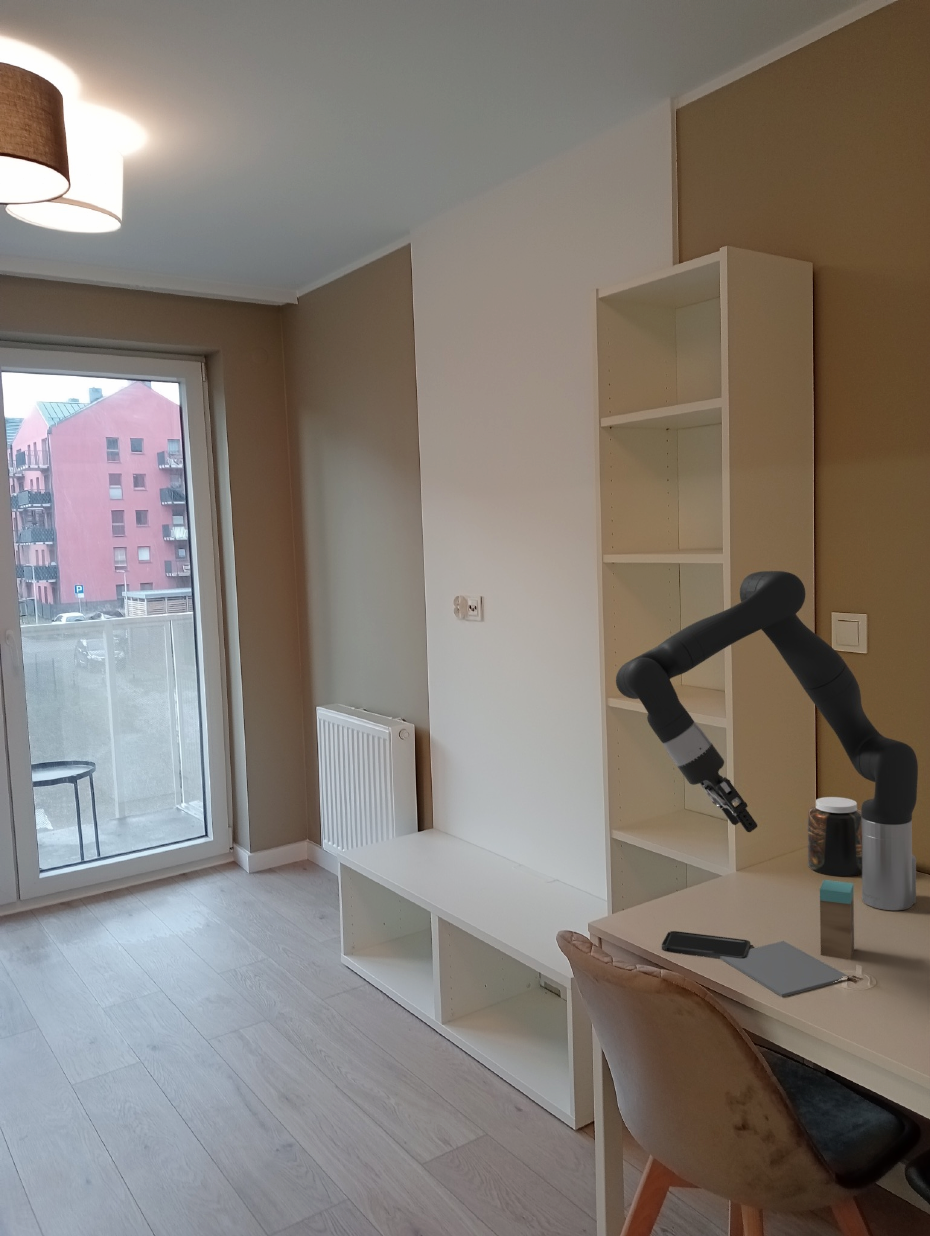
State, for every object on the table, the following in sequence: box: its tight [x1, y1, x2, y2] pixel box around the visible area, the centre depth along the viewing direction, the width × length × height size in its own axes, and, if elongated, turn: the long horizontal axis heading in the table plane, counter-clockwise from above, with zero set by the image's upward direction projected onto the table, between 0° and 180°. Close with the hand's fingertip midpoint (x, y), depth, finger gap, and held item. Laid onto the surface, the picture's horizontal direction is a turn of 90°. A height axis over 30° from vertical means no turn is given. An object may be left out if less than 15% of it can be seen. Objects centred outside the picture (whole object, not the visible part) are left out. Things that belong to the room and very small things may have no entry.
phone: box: [661, 930, 752, 960], centre depth 174 cm, size 8×1×15 cm
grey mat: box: [720, 940, 850, 998], centre depth 165 cm, size 14×16×1 cm
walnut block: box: [819, 879, 855, 961], centre depth 170 cm, size 5×5×12 cm
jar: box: [807, 796, 862, 877], centre depth 212 cm, size 12×12×15 cm
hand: (745, 825), depth 173 cm, fingers open, 8 cm apart
